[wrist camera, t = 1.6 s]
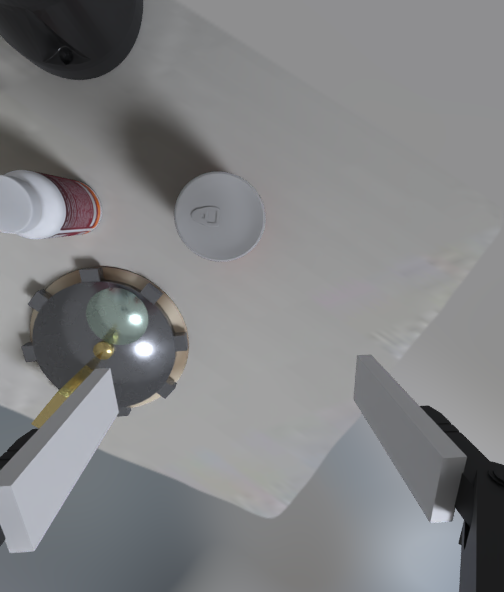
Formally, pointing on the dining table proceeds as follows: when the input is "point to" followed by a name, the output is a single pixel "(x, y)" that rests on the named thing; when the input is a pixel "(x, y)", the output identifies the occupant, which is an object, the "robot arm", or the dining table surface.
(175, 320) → the base
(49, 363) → the sprocket
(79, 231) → the pill bottle
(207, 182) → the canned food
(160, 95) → the dining table surface
